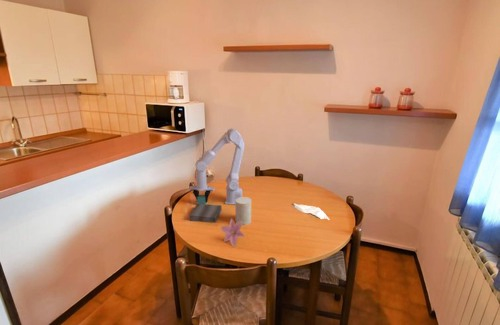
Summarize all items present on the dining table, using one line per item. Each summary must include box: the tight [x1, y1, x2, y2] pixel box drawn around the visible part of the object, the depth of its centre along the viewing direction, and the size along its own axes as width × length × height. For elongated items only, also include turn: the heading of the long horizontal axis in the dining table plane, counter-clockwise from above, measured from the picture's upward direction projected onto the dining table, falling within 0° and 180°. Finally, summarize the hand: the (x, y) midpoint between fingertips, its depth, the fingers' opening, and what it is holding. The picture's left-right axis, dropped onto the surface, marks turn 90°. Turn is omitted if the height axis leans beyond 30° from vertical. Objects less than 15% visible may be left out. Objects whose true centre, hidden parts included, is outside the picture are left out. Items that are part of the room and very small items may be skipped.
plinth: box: [188, 203, 223, 224], centre depth 150 cm, size 14×14×3 cm
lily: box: [220, 218, 245, 248], centre depth 128 cm, size 12×12×10 cm
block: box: [196, 193, 208, 205], centre depth 163 cm, size 4×4×5 cm
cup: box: [235, 196, 252, 226], centre depth 144 cm, size 8×8×12 cm
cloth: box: [291, 202, 330, 221], centre depth 157 cm, size 26×14×2 cm, turn 32°
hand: (202, 201), depth 163 cm, fingers closed on block, 4 cm apart
